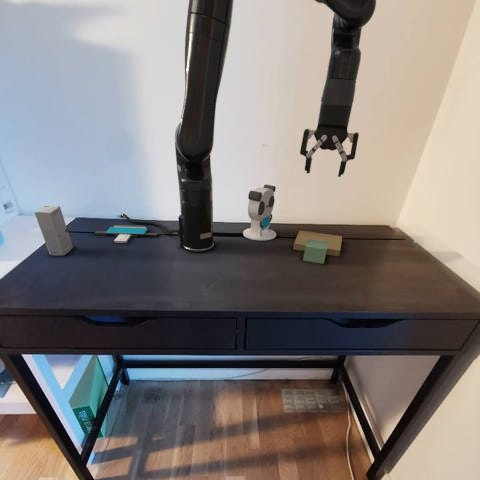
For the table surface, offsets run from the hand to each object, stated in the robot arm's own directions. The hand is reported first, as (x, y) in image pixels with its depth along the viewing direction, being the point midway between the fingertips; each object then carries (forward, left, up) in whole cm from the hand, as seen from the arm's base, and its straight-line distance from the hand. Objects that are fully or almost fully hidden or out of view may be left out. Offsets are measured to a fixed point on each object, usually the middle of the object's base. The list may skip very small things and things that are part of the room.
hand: (323, 174), depth 86 cm
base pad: (+2, +3, -22) cm, 22 cm away
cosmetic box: (-68, -30, -22) cm, 78 cm away
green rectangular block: (+2, -6, -22) cm, 22 cm away
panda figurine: (-18, +5, -22) cm, 28 cm away
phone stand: (-58, -13, -22) cm, 63 cm away
